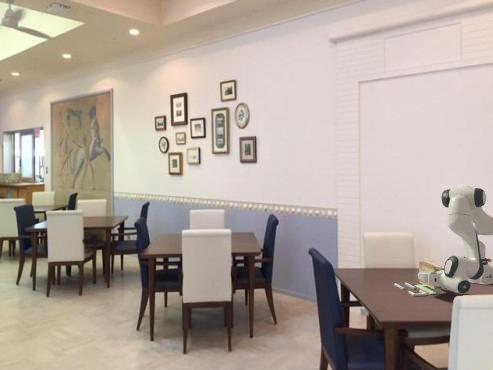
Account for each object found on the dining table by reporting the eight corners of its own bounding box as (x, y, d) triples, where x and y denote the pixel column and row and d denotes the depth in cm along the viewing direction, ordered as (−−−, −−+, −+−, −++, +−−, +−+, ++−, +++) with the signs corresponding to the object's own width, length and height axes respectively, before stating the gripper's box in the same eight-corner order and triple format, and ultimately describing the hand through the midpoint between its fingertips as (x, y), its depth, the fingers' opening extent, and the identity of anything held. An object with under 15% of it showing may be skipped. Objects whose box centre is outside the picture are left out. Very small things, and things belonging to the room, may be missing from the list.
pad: (428, 285, 241) (428, 284, 241) (446, 293, 225) (446, 292, 225) (414, 286, 240) (414, 285, 240) (430, 294, 224) (430, 293, 224)
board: (426, 281, 239) (426, 261, 239) (441, 288, 225) (441, 266, 225) (419, 282, 239) (419, 261, 238) (433, 289, 225) (434, 267, 224)
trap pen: (421, 292, 228) (421, 290, 228) (427, 295, 222) (427, 293, 222) (408, 292, 227) (408, 291, 227) (414, 296, 221) (414, 294, 221)
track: (406, 284, 243) (406, 282, 243) (415, 288, 234) (415, 287, 234) (394, 285, 242) (394, 283, 242) (402, 289, 233) (402, 287, 233)
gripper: (462, 271, 221) (445, 265, 234) (426, 273, 217) (412, 267, 231) (462, 283, 221) (445, 277, 235) (426, 285, 218) (412, 278, 231)
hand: (428, 272), depth 233 cm, fingers closed on board, 4 cm apart
